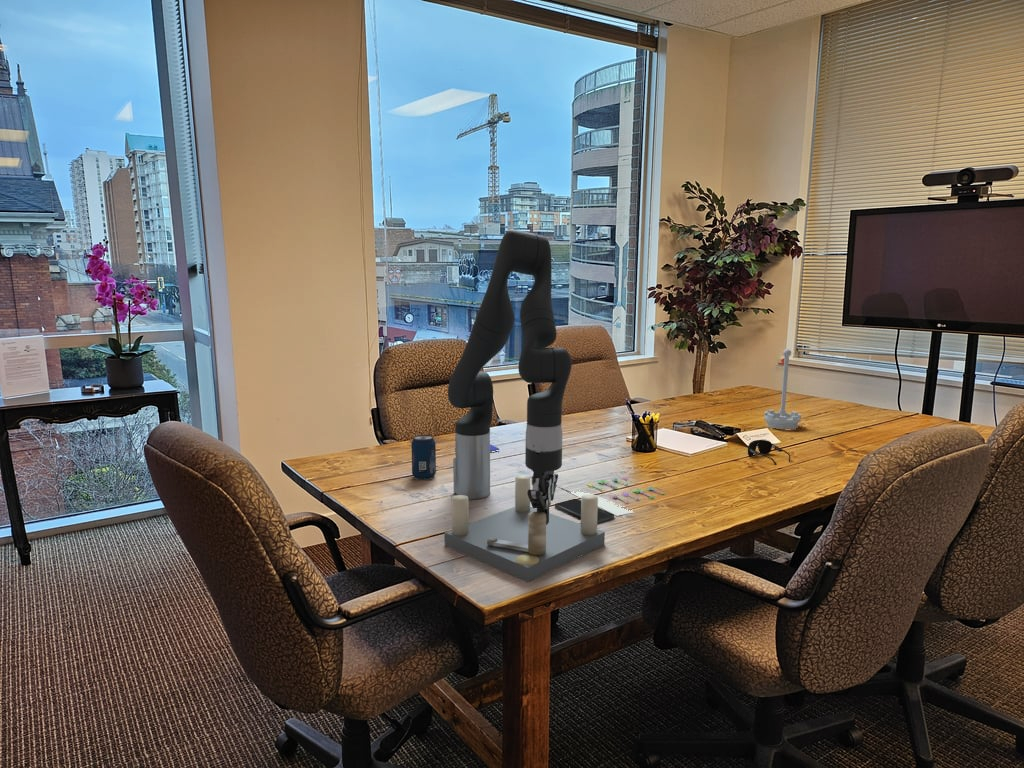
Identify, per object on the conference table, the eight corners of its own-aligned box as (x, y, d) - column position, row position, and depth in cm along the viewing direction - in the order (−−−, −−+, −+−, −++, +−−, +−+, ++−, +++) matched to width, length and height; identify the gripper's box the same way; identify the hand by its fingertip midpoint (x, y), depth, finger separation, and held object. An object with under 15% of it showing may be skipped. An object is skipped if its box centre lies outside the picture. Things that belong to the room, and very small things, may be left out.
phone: (592, 522, 161) (552, 504, 173) (592, 526, 161) (552, 508, 173) (616, 515, 165) (576, 498, 177) (616, 519, 165) (576, 502, 177)
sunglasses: (767, 452, 224) (769, 438, 223) (794, 466, 214) (797, 451, 213) (742, 455, 220) (745, 441, 219) (769, 470, 210) (772, 455, 208)
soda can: (413, 473, 200) (412, 434, 198) (437, 473, 200) (436, 434, 198) (410, 480, 194) (409, 440, 191) (434, 480, 194) (434, 440, 191)
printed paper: (549, 483, 192) (549, 478, 192) (630, 470, 207) (631, 465, 207) (617, 517, 167) (617, 511, 166) (704, 498, 182) (704, 493, 182)
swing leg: (483, 546, 140) (483, 510, 139) (490, 539, 144) (490, 504, 142) (542, 556, 136) (542, 519, 134) (548, 549, 139) (548, 512, 138)
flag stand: (806, 430, 253) (812, 351, 248) (771, 431, 253) (777, 351, 247) (791, 422, 266) (797, 347, 260) (758, 422, 265) (763, 347, 260)
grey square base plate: (444, 545, 149) (443, 497, 147) (522, 515, 167) (522, 472, 165) (527, 582, 132) (528, 528, 130) (604, 544, 150) (605, 497, 148)
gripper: (537, 434, 145) (536, 510, 149) (514, 451, 133) (514, 533, 137) (570, 438, 143) (569, 515, 146) (551, 455, 131) (549, 539, 134)
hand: (542, 524), depth 141 cm, fingers closed
